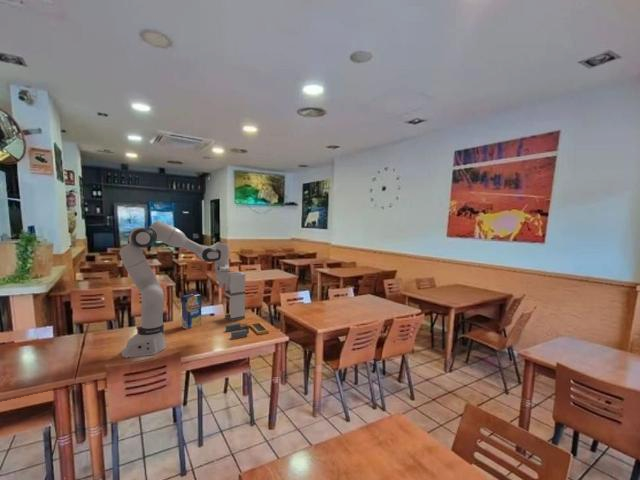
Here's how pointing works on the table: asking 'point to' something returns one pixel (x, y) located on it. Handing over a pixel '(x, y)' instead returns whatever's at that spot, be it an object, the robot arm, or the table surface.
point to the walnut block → (244, 327)
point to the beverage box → (191, 311)
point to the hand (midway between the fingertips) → (220, 287)
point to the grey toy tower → (236, 295)
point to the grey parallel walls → (236, 333)
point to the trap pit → (258, 328)
